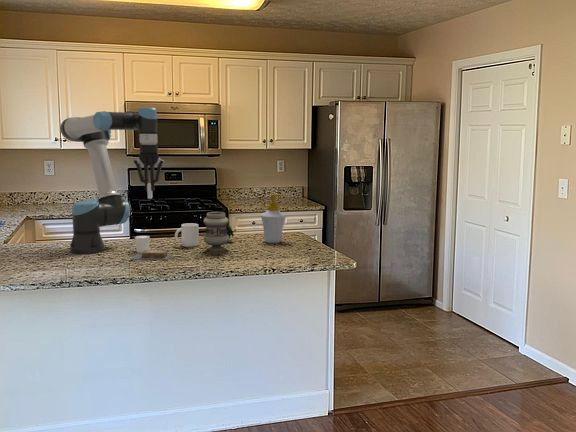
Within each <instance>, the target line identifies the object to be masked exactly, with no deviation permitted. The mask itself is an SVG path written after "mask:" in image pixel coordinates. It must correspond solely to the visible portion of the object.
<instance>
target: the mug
mask: <svg viewBox="0 0 576 432" xmlns="http://www.w3.org/2000/svg"><path fill="white" fill-rule="evenodd" d="M180 232H181V236H180V237H181V240H180V239H179V238H178V235H179V233H180ZM199 235H200V234H199V224H198V223H192V222H191V223H190V222H189V223H187V222H186V223H182V224H181V227H180V228H178V229H177V230H176V231H175V232H174V239H175V241H176V242H177V243H179V244H181V245H182V247H187V248H193V247H198V246H199V245H200V241H199V239H200V237H199Z"/></svg>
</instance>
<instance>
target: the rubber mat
mask: <svg viewBox="0 0 576 432" xmlns="http://www.w3.org/2000/svg"><path fill="white" fill-rule="evenodd" d="M172 256H173V254H172V253H167V256H166V257H165V258H142V253H136V254H135V255H133V256H132V257H131V258H130V260H131V261H133V260H134V261H154V260H155V261H169V260H170V258H171V257H172Z"/></svg>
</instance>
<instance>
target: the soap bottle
mask: <svg viewBox="0 0 576 432" xmlns="http://www.w3.org/2000/svg"><path fill="white" fill-rule="evenodd" d="M268 195H269V196H270V199H271V201H270V202H269V205H267V210H266V211H265V212H263V213H261V214H260V219H261V221H262V227H263V241H264V242H265V243H268V244H278V243H281V242H282V240H283V228H284V223H285V219H286V217H287V216H286V214H285V213H283V212H281V211H280V210H279V205H278V204H277V201H275V200H276V198H277V197H281V196H285V193H268Z"/></svg>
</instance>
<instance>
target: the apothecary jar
mask: <svg viewBox="0 0 576 432" xmlns="http://www.w3.org/2000/svg"><path fill="white" fill-rule="evenodd" d="M229 222H230V221H229V218H228V217H226V212H224V211H211V212H207V213H206V217H204V218H203V224H204V225H205V235H204V236H203V241H204V243H205V244H207V245H209V246H210V247H209V248H207V249H206V250H205V251H206V252H208V253H212V254H218V253H219V254H221V253H225V252H228V249H227V248H226V247H224V245H226V244H227V243H229V242H230V239H231V237H230V238H229V236H228V235H227V231H226V225H228V224H229Z"/></svg>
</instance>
